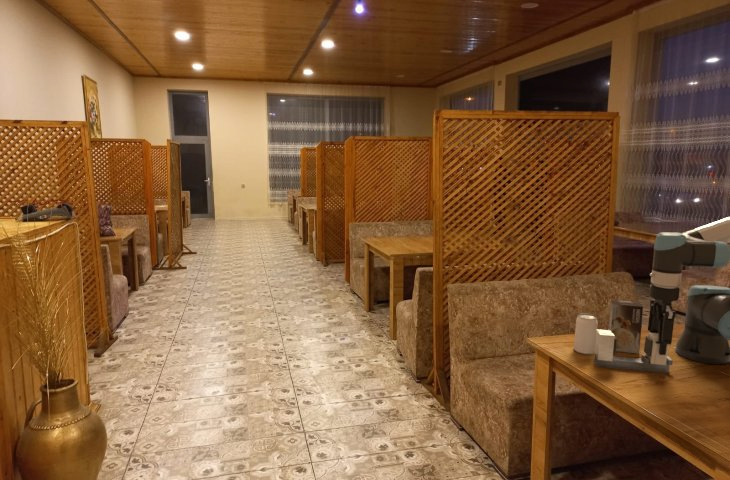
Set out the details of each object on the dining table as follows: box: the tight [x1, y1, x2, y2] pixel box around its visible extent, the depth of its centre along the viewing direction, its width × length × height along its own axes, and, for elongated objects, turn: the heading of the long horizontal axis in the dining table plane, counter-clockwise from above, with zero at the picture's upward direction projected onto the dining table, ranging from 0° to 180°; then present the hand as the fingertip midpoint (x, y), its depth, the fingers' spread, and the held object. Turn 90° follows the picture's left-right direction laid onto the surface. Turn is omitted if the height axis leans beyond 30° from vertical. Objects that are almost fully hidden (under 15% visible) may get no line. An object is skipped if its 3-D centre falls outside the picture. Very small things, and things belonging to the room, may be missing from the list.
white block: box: [643, 331, 669, 365], centre depth 151 cm, size 5×5×8 cm
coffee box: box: [608, 299, 644, 354], centre depth 167 cm, size 9×6×16 cm
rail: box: [593, 328, 674, 374], centre depth 153 cm, size 21×5×10 cm, turn 78°
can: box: [573, 313, 599, 355], centre depth 165 cm, size 6×6×12 cm
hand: (656, 360), depth 152 cm, fingers closed on white block, 5 cm apart
